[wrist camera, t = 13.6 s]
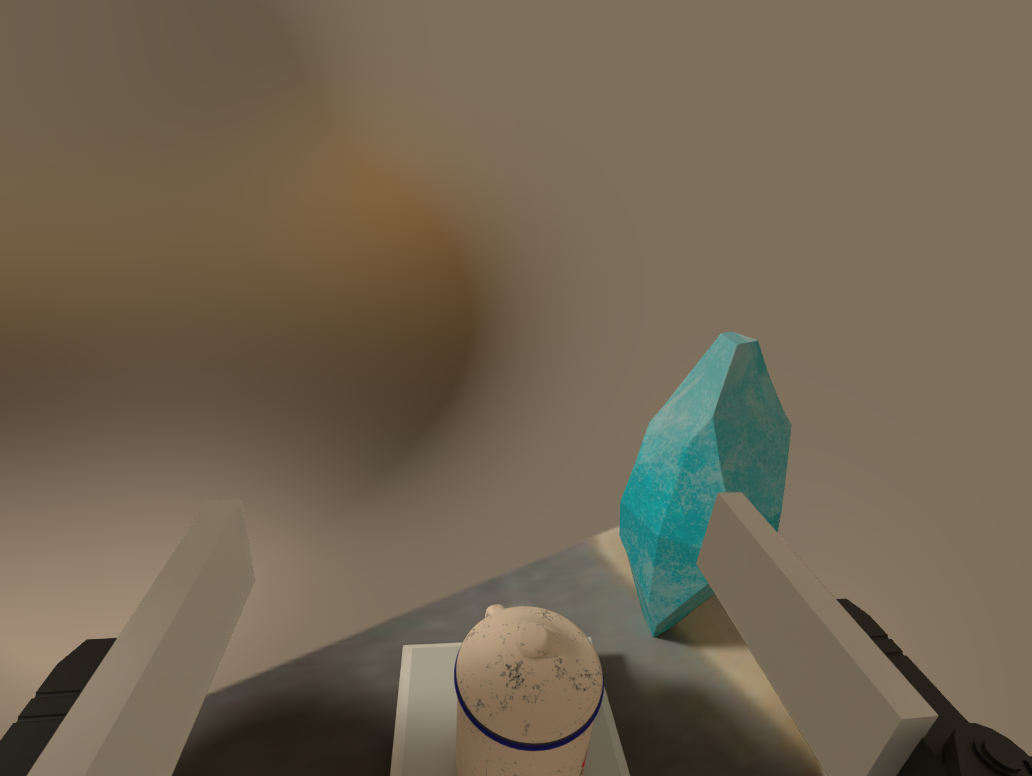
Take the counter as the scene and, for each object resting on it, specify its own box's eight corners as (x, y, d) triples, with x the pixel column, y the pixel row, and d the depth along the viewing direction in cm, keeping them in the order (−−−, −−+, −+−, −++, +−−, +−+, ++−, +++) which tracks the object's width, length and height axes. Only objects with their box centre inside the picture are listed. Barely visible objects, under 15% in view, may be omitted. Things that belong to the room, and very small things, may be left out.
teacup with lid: (611, 807, 32) (642, 682, 27) (471, 862, 29) (478, 733, 24) (540, 647, 42) (554, 536, 37) (432, 675, 39) (431, 559, 34)
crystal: (759, 640, 49) (871, 351, 37) (660, 708, 42) (758, 379, 30) (665, 560, 58) (730, 308, 46) (571, 606, 51) (619, 321, 39)
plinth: (379, 931, 29) (376, 896, 27) (403, 673, 43) (403, 640, 42) (646, 899, 31) (659, 865, 29) (585, 663, 46) (591, 632, 44)
